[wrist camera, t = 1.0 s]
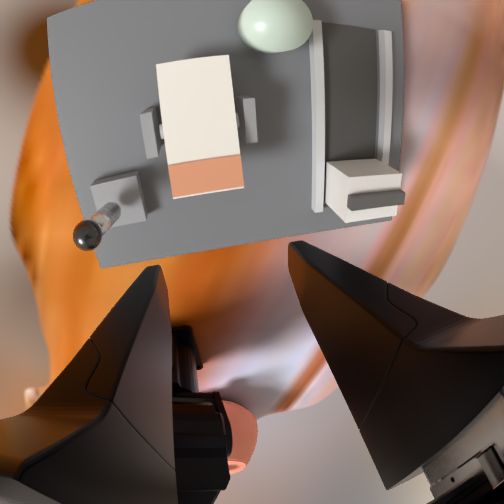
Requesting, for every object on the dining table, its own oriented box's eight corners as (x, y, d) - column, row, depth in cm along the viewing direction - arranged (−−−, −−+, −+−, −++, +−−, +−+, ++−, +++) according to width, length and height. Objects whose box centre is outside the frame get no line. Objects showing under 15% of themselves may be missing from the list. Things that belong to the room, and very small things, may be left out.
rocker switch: (244, 184, 17) (248, 187, 15) (170, 195, 16) (169, 200, 15) (229, 60, 14) (233, 53, 13) (154, 70, 13) (151, 64, 12)
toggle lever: (130, 219, 17) (96, 257, 14) (109, 219, 17) (73, 256, 14) (124, 194, 16) (86, 229, 13) (102, 196, 17) (63, 230, 13)
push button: (299, 54, 15) (314, 51, 13) (239, 55, 15) (247, 52, 13) (295, 1, 13) (310, -8, 11) (234, 0, 13) (242, -10, 11)
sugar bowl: (162, 430, 39) (168, 492, 30) (164, 381, 32) (169, 462, 23) (241, 429, 42) (255, 486, 34) (266, 381, 35) (288, 453, 27)
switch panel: (379, 209, 25) (411, 236, 21) (106, 253, 22) (93, 293, 18) (384, 2, 15) (425, -4, 11) (58, 22, 12) (27, 11, 8)
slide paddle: (372, 196, 22) (401, 219, 19) (324, 202, 21) (349, 227, 18) (375, 158, 20) (407, 176, 17) (326, 161, 19) (353, 181, 16)
